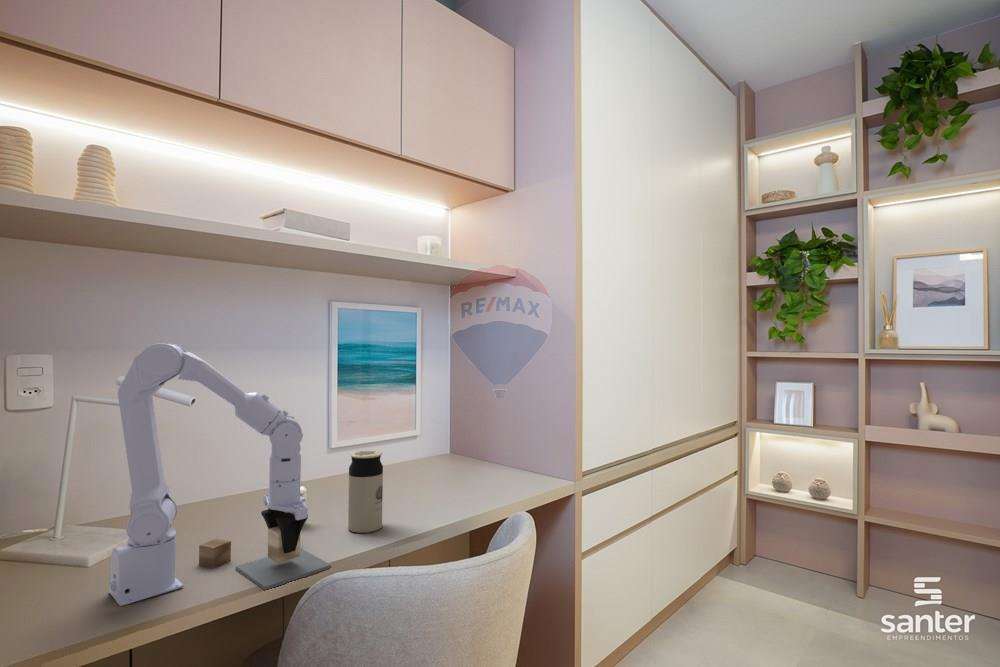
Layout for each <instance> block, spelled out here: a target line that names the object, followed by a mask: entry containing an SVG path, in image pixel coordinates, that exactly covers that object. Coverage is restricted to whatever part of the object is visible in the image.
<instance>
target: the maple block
mask: <svg viewBox="0 0 1000 667" xmlns="http://www.w3.org/2000/svg"><path fill="white" fill-rule="evenodd" d="M267 529H268V528H267ZM267 531H268V532H267V557H269V558H270V559H272V560H273V561H275V562H277V563H280V562H284V561H287V560H290V559H293V558H297V557H300V548H301V535H300V536H299V539H298V543H297V547H296V550H295V551H293V552H289V553H284V551H283V546H282V537H281V532H280V528H279V526H277V527H273V528H269V529H268V530H267Z"/></svg>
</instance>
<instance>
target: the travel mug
mask: <svg viewBox="0 0 1000 667" xmlns="http://www.w3.org/2000/svg"><path fill="white" fill-rule="evenodd" d="M349 455H350V457H351V463H350V465H349V467H348V509H347V510H348V511H347V512H348V516H347V518H348V522H347V523H348V525H347V529H348V530H349V531H350V532H353V533H355V534H356V533H357V534H367V533H373V532H376V531H378V530H379V529H381V528H383V497H384V495H383V491H384V488H383V487H384V486H383V485H384V484H383V482H384V480H383V479H384V476H383V475H384V473H383V472H384V464H382V462H381V456H382V455H383V452H381V451H379V450H375V449H374V450H358V451H353V452H351V453H350V454H349Z"/></svg>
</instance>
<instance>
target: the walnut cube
mask: <svg viewBox="0 0 1000 667" xmlns="http://www.w3.org/2000/svg"><path fill="white" fill-rule="evenodd" d="M198 546H199V548H198V549H199V550H198V565H199V566H202V567H206V568H211V569H215V568H217V567H219V566H221V565H224V564H226V563H229V562H230V561H231V558H232V556H231V555H232V554H231V553H232V541H231V540H226V539H222V538H214V539H211V540H210V541H206V542H204V543H201V544H199V545H198Z"/></svg>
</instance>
